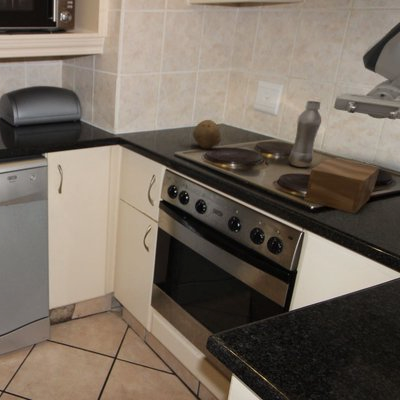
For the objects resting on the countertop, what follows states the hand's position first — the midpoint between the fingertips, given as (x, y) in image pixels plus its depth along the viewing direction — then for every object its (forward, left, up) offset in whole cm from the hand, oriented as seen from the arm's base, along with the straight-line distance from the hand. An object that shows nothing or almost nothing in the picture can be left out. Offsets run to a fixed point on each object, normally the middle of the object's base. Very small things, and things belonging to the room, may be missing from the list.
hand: (371, 113), depth 127 cm
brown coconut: (+46, -3, -21) cm, 51 cm away
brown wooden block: (-1, +9, -20) cm, 22 cm away
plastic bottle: (+16, -7, -21) cm, 27 cm away
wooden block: (-1, +15, -20) cm, 26 cm away
